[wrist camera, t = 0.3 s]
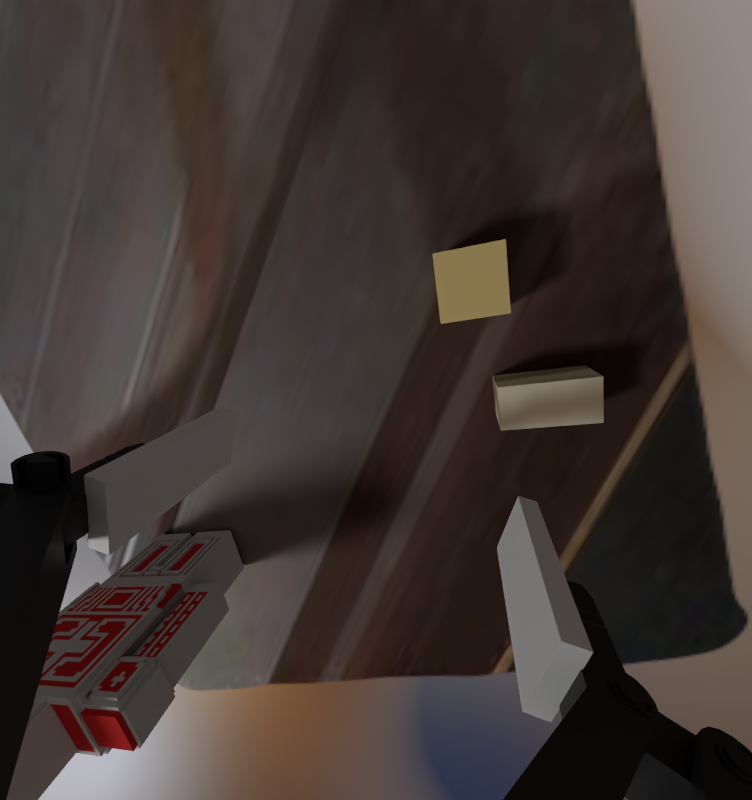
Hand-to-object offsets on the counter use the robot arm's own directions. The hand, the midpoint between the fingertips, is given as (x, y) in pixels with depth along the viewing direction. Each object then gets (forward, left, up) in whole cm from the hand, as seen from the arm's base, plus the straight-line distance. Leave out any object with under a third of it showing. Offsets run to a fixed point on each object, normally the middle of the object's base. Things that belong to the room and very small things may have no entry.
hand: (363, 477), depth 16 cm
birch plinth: (+4, +12, -26) cm, 29 cm away
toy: (+24, -37, -26) cm, 51 cm away
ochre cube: (-8, +6, -26) cm, 27 cm away
